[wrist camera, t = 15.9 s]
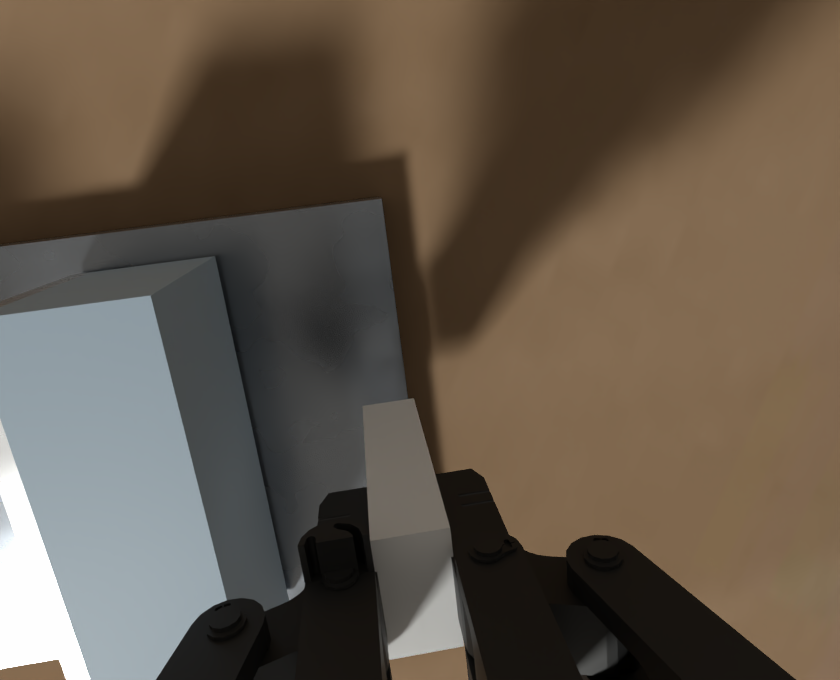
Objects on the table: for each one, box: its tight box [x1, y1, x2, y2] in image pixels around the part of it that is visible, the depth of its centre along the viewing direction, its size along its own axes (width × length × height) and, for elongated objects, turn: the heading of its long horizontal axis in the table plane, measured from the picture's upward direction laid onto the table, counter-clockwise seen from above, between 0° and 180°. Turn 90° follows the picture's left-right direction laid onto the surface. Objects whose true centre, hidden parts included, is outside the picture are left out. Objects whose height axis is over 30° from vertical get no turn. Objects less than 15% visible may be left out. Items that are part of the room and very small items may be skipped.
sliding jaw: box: [0, 256, 289, 680], centre depth 16 cm, size 4×12×6 cm, turn 7°
